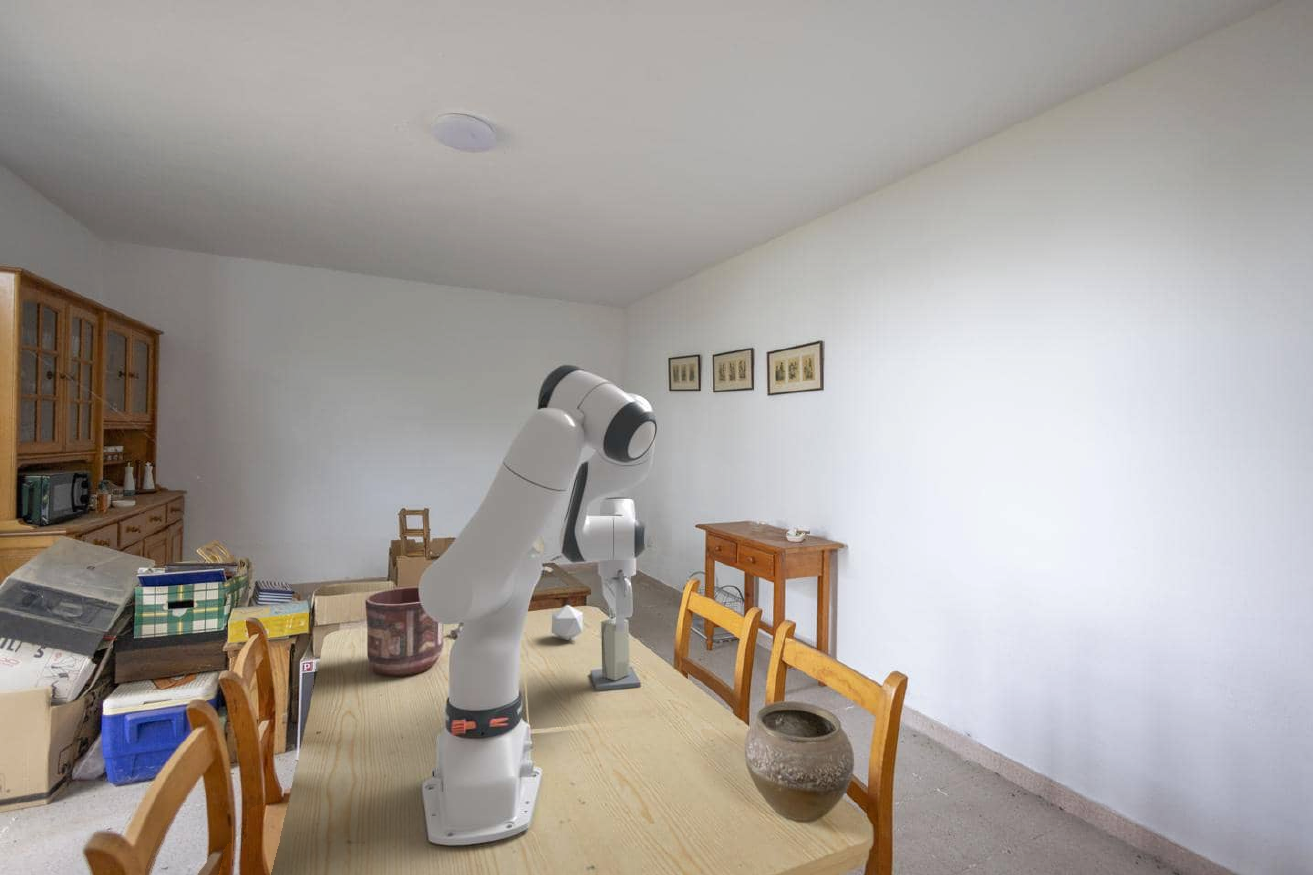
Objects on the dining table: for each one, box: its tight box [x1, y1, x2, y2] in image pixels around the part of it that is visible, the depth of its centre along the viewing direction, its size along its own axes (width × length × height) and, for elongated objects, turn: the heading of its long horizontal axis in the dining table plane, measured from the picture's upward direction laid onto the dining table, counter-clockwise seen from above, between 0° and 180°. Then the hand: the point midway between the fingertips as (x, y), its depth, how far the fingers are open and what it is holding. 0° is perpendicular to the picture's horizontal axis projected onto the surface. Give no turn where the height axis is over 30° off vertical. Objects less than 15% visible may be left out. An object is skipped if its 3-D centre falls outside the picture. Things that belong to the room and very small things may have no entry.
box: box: [600, 617, 631, 681], centre depth 141 cm, size 5×4×13 cm
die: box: [551, 604, 584, 641], centre depth 169 cm, size 8×9×10 cm
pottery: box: [365, 586, 444, 678], centre depth 147 cm, size 18×18×18 cm
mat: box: [590, 666, 641, 692], centre depth 141 cm, size 10×10×1 cm
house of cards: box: [449, 623, 464, 638], centre depth 169 cm, size 9×9×8 cm
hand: (616, 626), depth 141 cm, fingers closed on box, 6 cm apart
